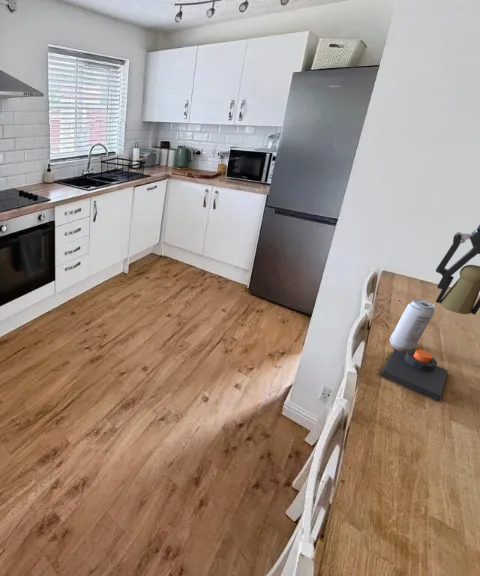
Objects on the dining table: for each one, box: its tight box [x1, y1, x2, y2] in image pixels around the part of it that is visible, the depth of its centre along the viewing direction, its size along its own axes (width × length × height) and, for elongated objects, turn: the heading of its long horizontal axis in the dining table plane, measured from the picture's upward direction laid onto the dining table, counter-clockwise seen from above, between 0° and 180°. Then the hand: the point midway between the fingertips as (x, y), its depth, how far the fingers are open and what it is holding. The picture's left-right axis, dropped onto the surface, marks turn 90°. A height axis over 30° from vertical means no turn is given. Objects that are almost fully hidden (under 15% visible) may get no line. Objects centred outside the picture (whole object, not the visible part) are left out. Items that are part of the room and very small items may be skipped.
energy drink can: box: [389, 298, 436, 352], centre depth 107 cm, size 6×6×15 cm
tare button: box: [413, 349, 434, 363], centre depth 100 cm, size 4×4×2 cm
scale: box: [380, 348, 449, 402], centre depth 98 cm, size 15×12×4 cm
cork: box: [438, 264, 480, 315], centre depth 88 cm, size 6×6×11 cm
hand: (455, 306), depth 90 cm, fingers closed on cork, 6 cm apart
